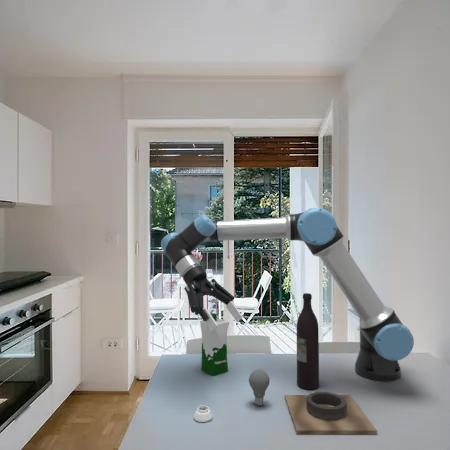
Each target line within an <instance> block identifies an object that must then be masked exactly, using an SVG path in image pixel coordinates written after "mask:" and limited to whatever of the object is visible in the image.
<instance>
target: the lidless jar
mask: <svg viewBox="0 0 450 450" xmlns="http://www.w3.org/2000/svg"><path fill="white" fill-rule="evenodd" d="M212 419H213V414H212V412H211V409H210V407H209V406H208V405H199V406H197V409H196V410H195V413H194V415H193V420H195V421H196V422H199V423H207V422H209V421H211V420H212Z"/></svg>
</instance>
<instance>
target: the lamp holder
mask: <svg viewBox="0 0 450 450" xmlns="http://www.w3.org/2000/svg"><path fill="white" fill-rule="evenodd" d="M284 401H285V404H286V407H287V409H288V413H289V416H290V418H291V422H292V424H293V427H294V431H295V434H296V435H378V430H377V428H376V427H375V426H374V424H373V422H371V420H370V419H369V417H368V416H367V415H366V414H365V412H364V410H362V408H361V407H360V405H359V404H358V403H357V401H356V400H355V399H354V397H353V396H352V395H351V394H337V393H333V392H329V391H316V392H311V393H309V394H284Z"/></svg>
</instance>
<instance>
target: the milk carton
mask: <svg viewBox="0 0 450 450" xmlns="http://www.w3.org/2000/svg"><path fill="white" fill-rule="evenodd" d="M209 313H210V314H211V316H212V317H213V319H214V320H215V321H216V323H217V324H218V326H217V327H216V328H215V329H214V331H211V330H210V328H209V327H208V325H207V324H206V322H205V321H203V319H201V320H200V321H199V322H200V329H201V331H200V332H201V368H200V369H201V371H203V372H204V373H206V374H208V375H210V376H212V377H214V376H218V375H220V374H223V373H226V372H229V365H228V364H229V363H228V329H229V324H230V321H228V320H225V319H222V318H218V317H217V314H216V313H212V312H209Z"/></svg>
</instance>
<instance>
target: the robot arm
mask: <svg viewBox="0 0 450 450" xmlns="http://www.w3.org/2000/svg"><path fill="white" fill-rule="evenodd" d="M269 239H270V240H271V239H287V240H289V241H299V242H304V244H305V245H306V247H307V249H308V251H310V253H311V254H312V255H313V256H315V257H318V258H320V260H321V262H323V264H324V265H325V267H326V269H327V270H328V271H329V273H330V275H331V276H332V278H333V280H335V282H336V284H337V285H338V288H339V289H340V290H341V292H342V293H343V294H344V296H345V297H346V299H347V301H348V302H349V304H350V305H351V307H352V309H353V310H354V311H355V313H356V314H357V315H358V318H359V352H358V355H357V357H356V359H355V360H356V361H355V363H354V371H355V373H356V374H357V375H359V376H360V377H363V378H365V379H369V380H374V381H379V382H391V381H397V380H399V379H401V377H402V370H401V366H400V363H399V361H401V360H404V359H405V358H407V357H408V356H409V355H410V354H411V352H412V351H413V348H414V344H415V341H414V340H415V339H414V336H413V334H412V332H411V329H409V328H408V327H407V326H405V325H404V324H403V323H402V321H401V320H400V318H399V317H398V315H397V314H396V312H395V310H394V309H393V307H390V306H385V305H384V302H383V301H382V300H381V299H380V297H379V295H378V294H377V293H376V291H375V289H374V288H373V287H372V285H371V284H370V282H369V280H368V279H367V277H366V276H365V275H364V273H363V271H362V270H361V268H360V267H359V265H358V264H357V262H356V261H355V260H354V258H353V256H352V255H351V254H350V252H349V251H348V249H347V247H346V246H345V245H344V239H345V236H344V234H343V233H342V231H341V229H340V228H339V226H338V224H337V221H336V218H335V217H334V215H333V214H332V213H331V212H330V211H328V210H326V209H325V208H322V207H311V208H308V209H307V210H305V211H303V212H298V213H292V214H291V213H289V214H287V215H286V216H285V217H284V216H283V217H268V218H250V219H249V218H248V219H247V218H245V219H233V220H231V219H229V220H211V219H210V217H209V216H207V215H206V214H204V213H202V214H201V215H199V216H198V217H197V218H195V219H194V220H193V221H192V222H191V223H190V224H188V225H187V226H186V228H184V230H182V231H181V232H180V233H178V232H176V231H175V232H169V233H168V234H166V235H165V236H164V237H163V238H162V239H161V242H160V247H161V249H162V251H163V252H164V254H165V256H167V258H168V260H169V262H170V263H171V264H172V265H173V266H174V268H175V269H176V271H177V272H178V274H179V275H180V277H181V278H182V279H183V282H184V283H185V284H186V286H184V288H183V289H184V291H185V293H186V294H187V295H186V296H187V299H188V304H189V309H190V312H191V313H193V314H195V316H198V315H199V316H200V318H201V320H203V321H205V322H206V324H207V325H208V327H209V328H210V330H211V331H214V329H215V328H216V327H217V326H218V324H217V323H216V321H215V320H214V319H213V317H212V316H211V314H210V313H211V312H210V311H209V310H208V308H207V307H205V308H204V305H205V304H204V297H205V296H209V297H213V298H214V299H216V300H217V301H219V302H221V303H223V304H225V307H226V309H227V310H228V312H229V313H230V315H231V316H232V317H233V319H234V320H235V322H236V323H239V322H240V321H241V320H242V319H243V318H244V316H243V313H241V311H239V309H238V308H237V305H235V303H234V302H233V301H234V299H235V296H234V295H233V294H232V293H230V292H229V291H228V290H227V289H225V288H224V287H223V286H222V285H221V284H219V283H218V282H217V281H216V279H215V278H212V279H211V280H208V279H207V276H208V273H207V271H206V270H205V269H204V267H203V266H202V265H201V264H200V262H199V260H198V259H197V258H196V256H195V255H194V254H193V251H195V250H196V249H197V248H198V247H200V245H201V244H203V243H204V242H219V241H244V240H245V241H246V240H269Z"/></svg>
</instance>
